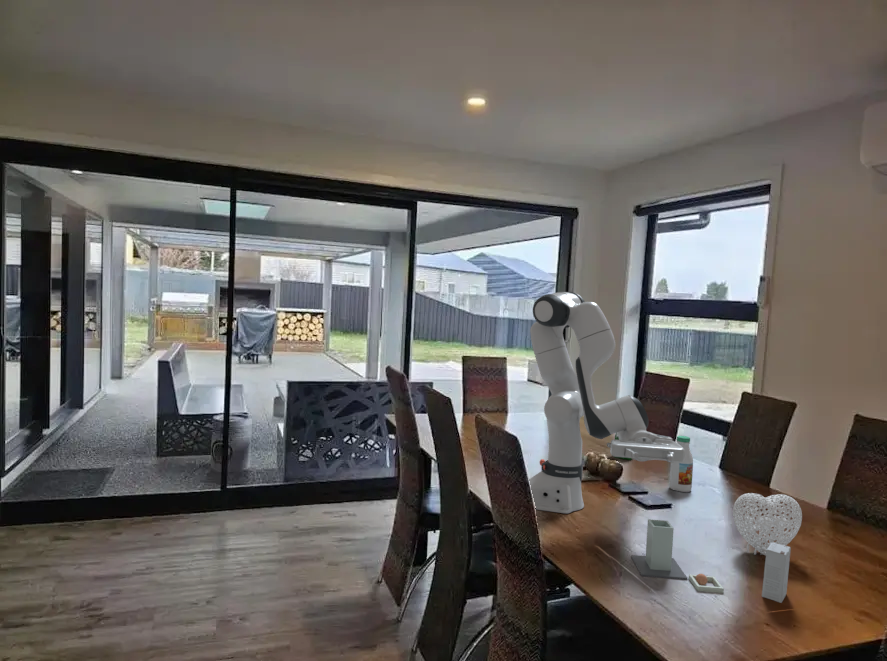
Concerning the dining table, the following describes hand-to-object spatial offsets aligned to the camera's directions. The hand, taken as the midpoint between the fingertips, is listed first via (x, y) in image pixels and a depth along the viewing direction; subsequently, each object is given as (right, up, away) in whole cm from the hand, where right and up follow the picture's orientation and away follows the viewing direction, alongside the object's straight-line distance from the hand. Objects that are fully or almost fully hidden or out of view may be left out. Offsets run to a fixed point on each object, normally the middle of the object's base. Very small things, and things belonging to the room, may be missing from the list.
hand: (653, 457), depth 156 cm
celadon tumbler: (-2, -26, -10) cm, 27 cm away
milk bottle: (+32, -25, +59) cm, 71 cm away
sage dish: (+6, -28, -18) cm, 34 cm away
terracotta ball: (+6, -27, -18) cm, 33 cm away
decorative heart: (+32, -28, +2) cm, 42 cm away
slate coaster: (-2, -27, -10) cm, 28 cm away
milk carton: (+25, -23, +102) cm, 108 cm away
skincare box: (+21, -28, -22) cm, 41 cm away
